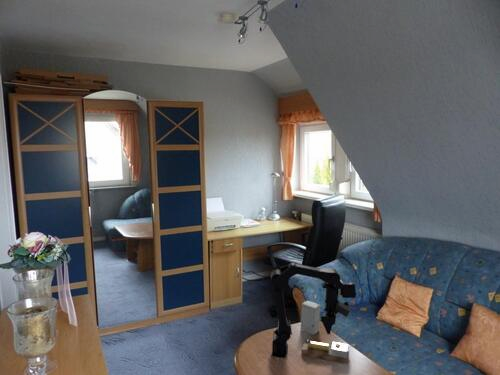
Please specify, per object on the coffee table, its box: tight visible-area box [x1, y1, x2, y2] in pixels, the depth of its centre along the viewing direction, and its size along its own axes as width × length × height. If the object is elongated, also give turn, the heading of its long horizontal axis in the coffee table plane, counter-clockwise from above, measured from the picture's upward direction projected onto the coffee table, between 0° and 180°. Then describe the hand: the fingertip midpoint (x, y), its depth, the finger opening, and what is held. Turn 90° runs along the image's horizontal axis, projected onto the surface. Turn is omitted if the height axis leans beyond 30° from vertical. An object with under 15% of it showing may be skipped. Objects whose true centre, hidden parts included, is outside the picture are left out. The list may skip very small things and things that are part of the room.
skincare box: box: [300, 300, 322, 336], centre depth 193 cm, size 8×6×15 cm
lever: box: [304, 338, 329, 351], centre depth 171 cm, size 11×3×3 cm, turn 71°
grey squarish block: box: [331, 341, 349, 358], centre depth 168 cm, size 7×6×4 cm
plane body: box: [300, 342, 350, 365], centre depth 170 cm, size 21×6×3 cm, turn 71°
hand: (330, 329), depth 170 cm, fingers open, 9 cm apart
